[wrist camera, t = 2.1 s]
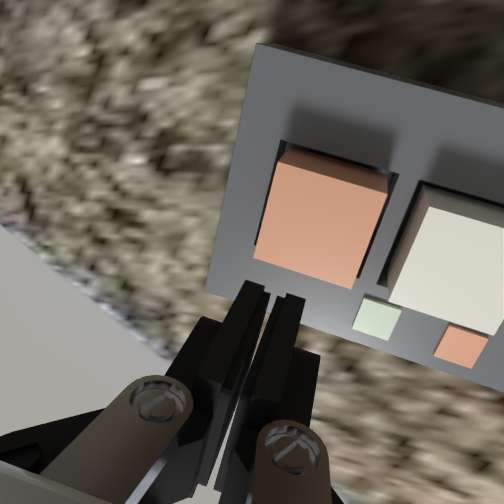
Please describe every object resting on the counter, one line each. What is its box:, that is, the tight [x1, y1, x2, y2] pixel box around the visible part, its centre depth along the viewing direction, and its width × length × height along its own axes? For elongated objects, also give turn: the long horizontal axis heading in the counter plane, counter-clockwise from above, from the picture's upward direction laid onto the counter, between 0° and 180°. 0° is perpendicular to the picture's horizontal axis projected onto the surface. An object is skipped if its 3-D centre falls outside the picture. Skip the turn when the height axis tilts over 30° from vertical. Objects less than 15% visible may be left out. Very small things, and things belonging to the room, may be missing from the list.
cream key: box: [387, 185, 504, 336], centre depth 19 cm, size 4×4×3 cm
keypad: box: [205, 43, 504, 392], centre depth 21 cm, size 21×12×4 cm, turn 77°
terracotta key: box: [253, 146, 388, 289], centre depth 20 cm, size 4×4×3 cm
